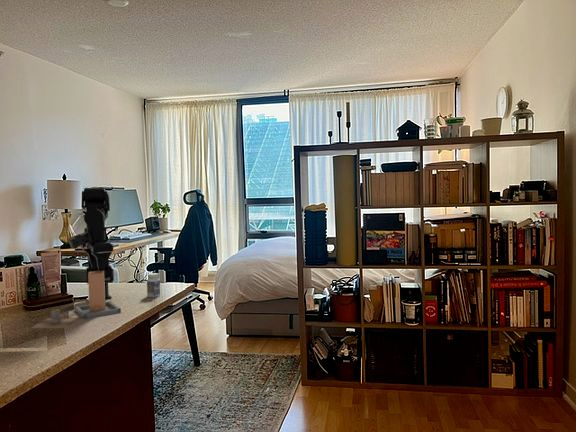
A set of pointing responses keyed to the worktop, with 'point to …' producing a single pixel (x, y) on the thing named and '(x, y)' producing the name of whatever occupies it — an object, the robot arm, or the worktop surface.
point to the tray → (85, 312)
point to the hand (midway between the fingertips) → (97, 270)
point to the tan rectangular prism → (96, 291)
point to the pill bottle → (153, 285)
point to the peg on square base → (55, 321)
